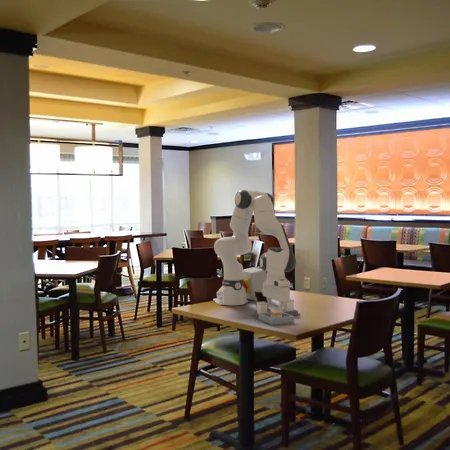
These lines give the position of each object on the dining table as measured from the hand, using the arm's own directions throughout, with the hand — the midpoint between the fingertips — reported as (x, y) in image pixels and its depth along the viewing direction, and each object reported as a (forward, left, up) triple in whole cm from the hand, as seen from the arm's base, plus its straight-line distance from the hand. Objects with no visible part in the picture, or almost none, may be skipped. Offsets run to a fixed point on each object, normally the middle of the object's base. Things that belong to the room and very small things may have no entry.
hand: (275, 308), depth 262 cm
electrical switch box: (-58, +19, -7) cm, 61 cm away
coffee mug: (-32, +11, -7) cm, 34 cm away
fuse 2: (-12, +15, -6) cm, 20 cm away
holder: (-12, +7, -7) cm, 15 cm away
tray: (0, 0, -7) cm, 7 cm away
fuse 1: (-12, -1, -6) cm, 13 cm away
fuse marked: (0, 0, -6) cm, 6 cm away
